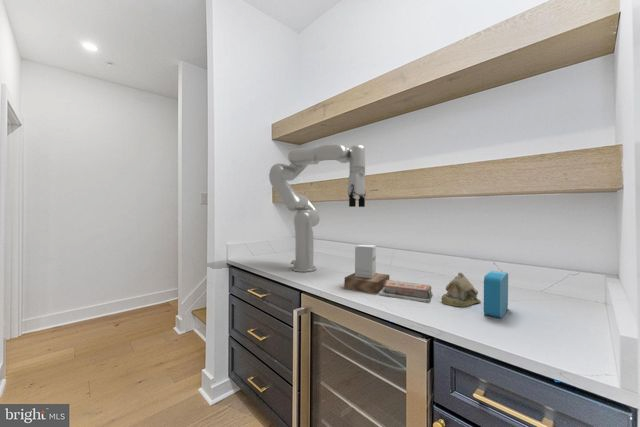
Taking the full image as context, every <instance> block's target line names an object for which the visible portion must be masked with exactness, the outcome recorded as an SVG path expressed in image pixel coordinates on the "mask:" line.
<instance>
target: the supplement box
mask: <svg viewBox="0 0 640 427" xmlns="http://www.w3.org/2000/svg"><path fill="white" fill-rule="evenodd" d="M376 251H377V245H376V244H375V245H374V244H358V245H356V246H354V273H355V277H362V278H373V276H374V275H375V274H376V273H377V272H376V263H377V261H376V260H377V254H376V253H377V252H376Z"/></svg>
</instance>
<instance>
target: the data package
mask: <svg viewBox="0 0 640 427" xmlns="http://www.w3.org/2000/svg"><path fill="white" fill-rule="evenodd" d="M508 308H509V273H508V272H506V271H498V270H490V271H489V272H488V273H486V275H484V278H483V314H484V315H486V316H491V317H494V318H497V319H498V318H499V319H502V318H503V316H504V315H505V314H506V311H508Z"/></svg>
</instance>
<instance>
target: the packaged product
mask: <svg viewBox="0 0 640 427" xmlns="http://www.w3.org/2000/svg"><path fill="white" fill-rule="evenodd" d="M433 295H434V294H433V292H432V285H429V284H424V283H414V282H408V281H400V280H393V279H389V280H386V283H385V285H384V287H383V289H382V290H381V291H380V292H379V293H378V296H381V297H382V296H384V297H391V298H396V299H401V300H407V301H415V302H421V303H430V301H431V299H432V296H433Z"/></svg>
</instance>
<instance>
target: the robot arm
mask: <svg viewBox="0 0 640 427" xmlns="http://www.w3.org/2000/svg"><path fill="white" fill-rule="evenodd" d="M287 158H288V161H289V165H288V164H284V163H275V164H274V165H272V166H271V167H270V170H269V174H268V177H269V178H268V179H269V182H270V185H271V187H272V189H273V190H274V191H275V193H276V194H277V195H278V197H279V198H280V200H281V201H282V203H283V205H284V206H285V207H286V209H287V210H288V211H290V212H293V213H294V212H295V214H294V217H293V225H294V231H295V234H294V235H295V236H294V237H295V242H294V243H295V244H294V245H295V259H293V260H291V262H290V265H293V266H292V270H293V271H294V272H297V273H299V272H300V273H310V272H314V271H316V270H317V266H315V265H314V231H313V228H314V227H316V226H318V224H319V223H320V218H321V217H320V214H319V212H318V211H317V209H316V208H315V207H314V205H313V204H312V203H311V201H310V199H308V197H306V196H305V195H303V194H298V193H297V192H296V191H295V190H294V189H293V187H292V186H291V184H290V183H288V182H290V181H294V180H295V179H296V178H297V177H298V176H300V174H301V173H302V172H303V171H304V170H305V169H306V168H307V167H308V166H309V165H319V163H320V162H323V161H337V162H338V163H341V164H347V163H349V166H348V168H349V175H348V181H347V189H346V190H347V194H348V207H349V208H350V207H352V208H353V207H354V208H355V207H356V204H357V202H356V201H357V199H356V197H357V196H358V207H359V208H365V206H366V205H365V204H366V193H367V190H366V179H365V177H366V176H365V175H366V148H365V146H364V145H359V144H356V145H351V146H350V147H346V146H344V145H342V144H339V143H336V144H334V143H331V144H322V145H319V146H317V147H303V148H294V149H291V150H290V151H289V152H288V155H287Z"/></svg>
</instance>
